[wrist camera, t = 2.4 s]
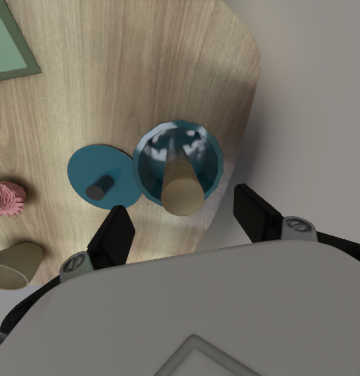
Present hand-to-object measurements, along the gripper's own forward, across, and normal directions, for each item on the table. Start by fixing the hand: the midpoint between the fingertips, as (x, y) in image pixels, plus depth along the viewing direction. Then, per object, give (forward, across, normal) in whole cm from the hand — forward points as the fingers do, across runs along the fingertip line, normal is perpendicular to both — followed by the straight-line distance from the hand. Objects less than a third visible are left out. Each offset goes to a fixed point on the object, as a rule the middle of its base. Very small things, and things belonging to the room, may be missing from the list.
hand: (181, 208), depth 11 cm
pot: (+16, 0, 0) cm, 16 cm away
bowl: (+16, +41, +17) cm, 47 cm away
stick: (+15, 0, 0) cm, 15 cm away
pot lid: (+15, +14, +2) cm, 20 cm away
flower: (+16, +32, +1) cm, 35 cm away
